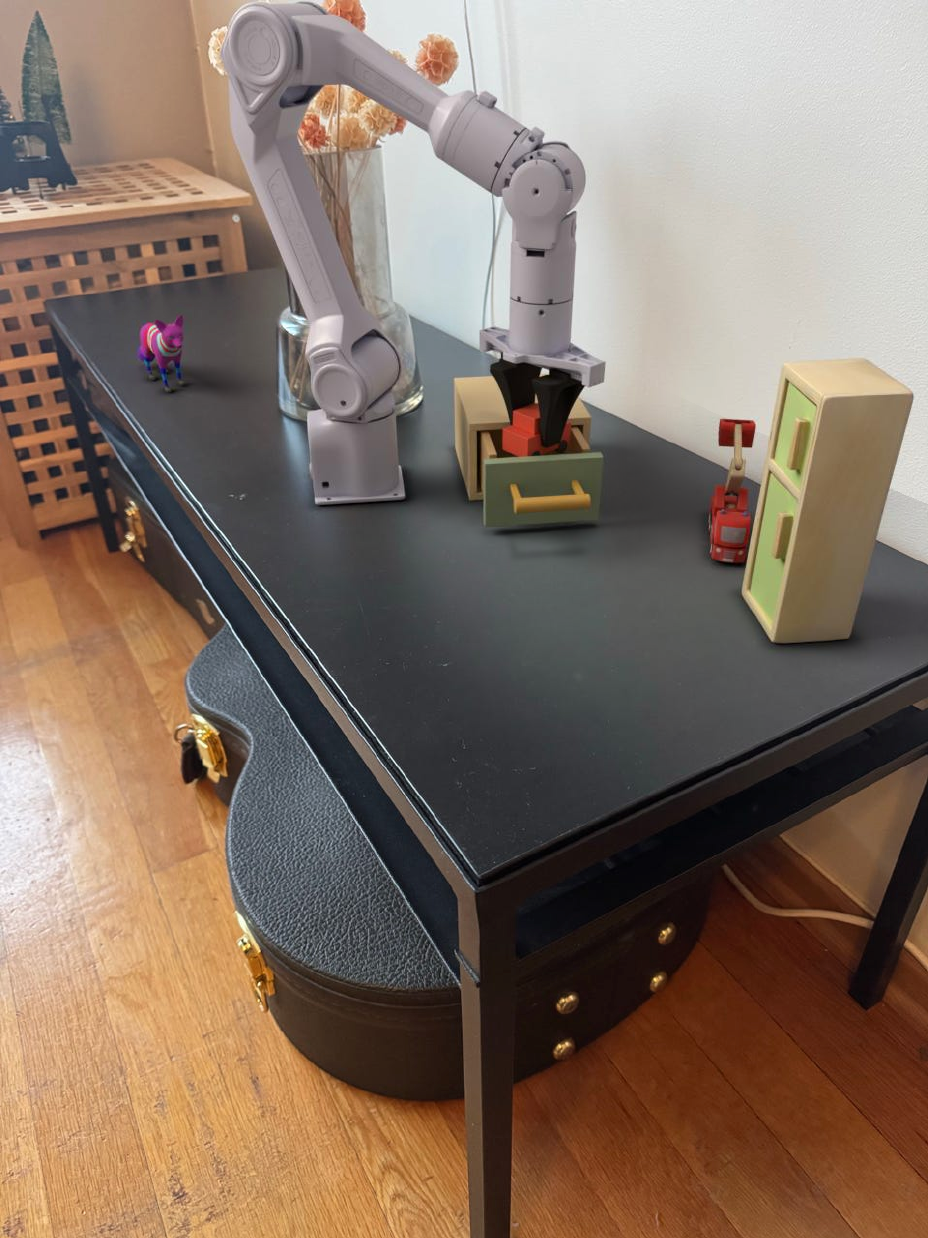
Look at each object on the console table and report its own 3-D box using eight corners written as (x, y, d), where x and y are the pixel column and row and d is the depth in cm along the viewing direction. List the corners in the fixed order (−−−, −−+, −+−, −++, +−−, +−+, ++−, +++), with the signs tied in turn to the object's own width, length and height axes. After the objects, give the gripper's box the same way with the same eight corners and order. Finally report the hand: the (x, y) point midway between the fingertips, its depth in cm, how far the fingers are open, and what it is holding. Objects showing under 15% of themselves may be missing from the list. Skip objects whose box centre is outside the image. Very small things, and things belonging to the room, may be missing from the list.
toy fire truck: (709, 565, 84) (725, 470, 79) (706, 499, 95) (720, 412, 90) (746, 568, 84) (764, 472, 78) (739, 502, 95) (755, 414, 89)
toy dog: (177, 402, 120) (162, 324, 114) (131, 367, 132) (115, 294, 126) (204, 396, 122) (190, 319, 116) (156, 361, 134) (141, 290, 128)
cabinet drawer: (610, 543, 86) (616, 478, 82) (491, 551, 85) (492, 485, 81) (571, 467, 100) (575, 408, 96) (469, 473, 99) (469, 414, 95)
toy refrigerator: (730, 593, 80) (773, 360, 68) (810, 588, 81) (867, 356, 69) (762, 646, 74) (816, 398, 62) (849, 640, 74) (920, 393, 62)
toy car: (527, 467, 87) (528, 423, 85) (501, 456, 89) (502, 412, 87) (570, 450, 91) (572, 407, 88) (544, 439, 93) (546, 397, 90)
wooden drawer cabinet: (586, 493, 97) (591, 417, 92) (469, 500, 96) (468, 423, 91) (560, 442, 108) (563, 372, 103) (455, 448, 107) (454, 377, 102)
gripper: (455, 288, 84) (457, 427, 91) (570, 322, 75) (561, 473, 82) (510, 275, 88) (507, 409, 95) (625, 306, 79) (612, 451, 86)
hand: (536, 437), depth 89 cm, fingers closed on toy car, 3 cm apart
